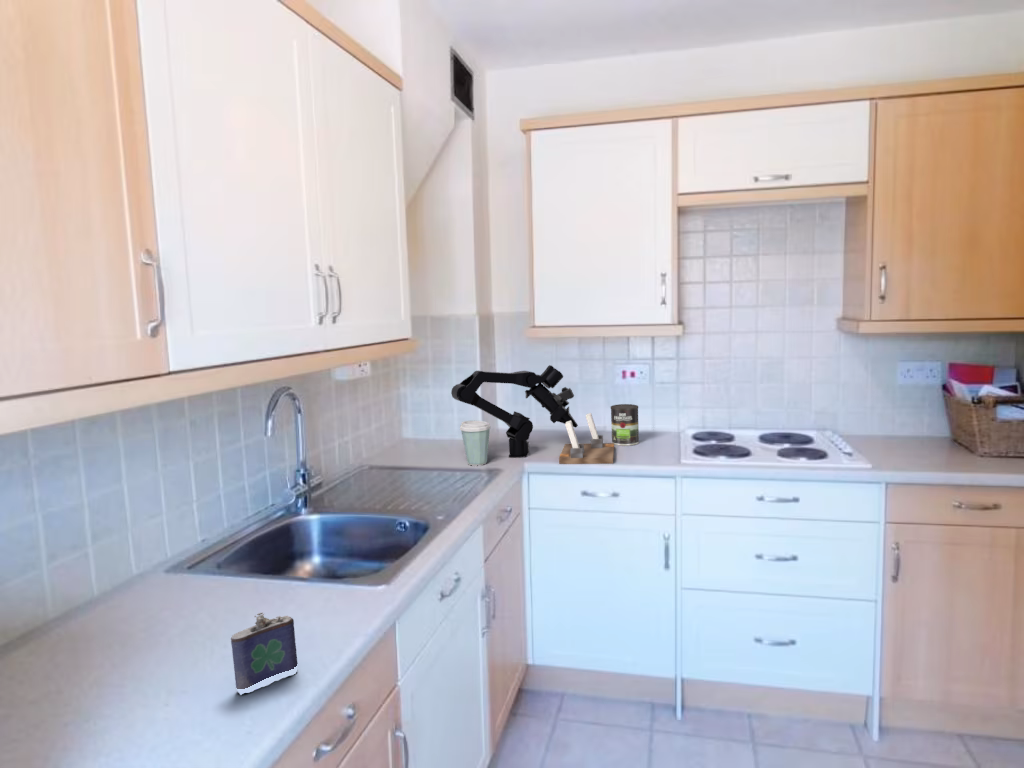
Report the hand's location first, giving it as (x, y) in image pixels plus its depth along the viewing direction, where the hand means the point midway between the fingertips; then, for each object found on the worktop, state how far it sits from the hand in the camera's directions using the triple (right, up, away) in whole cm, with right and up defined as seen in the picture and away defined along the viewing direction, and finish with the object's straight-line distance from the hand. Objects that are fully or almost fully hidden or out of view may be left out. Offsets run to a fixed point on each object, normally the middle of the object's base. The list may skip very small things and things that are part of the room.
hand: (576, 426), depth 237 cm
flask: (-61, -30, -137) cm, 153 cm away
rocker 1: (-1, -9, -13) cm, 16 cm away
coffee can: (+19, -7, +10) cm, 23 cm away
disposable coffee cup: (-35, -13, -10) cm, 39 cm away
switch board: (+3, -10, -7) cm, 13 cm away
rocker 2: (+7, -7, -1) cm, 10 cm away
